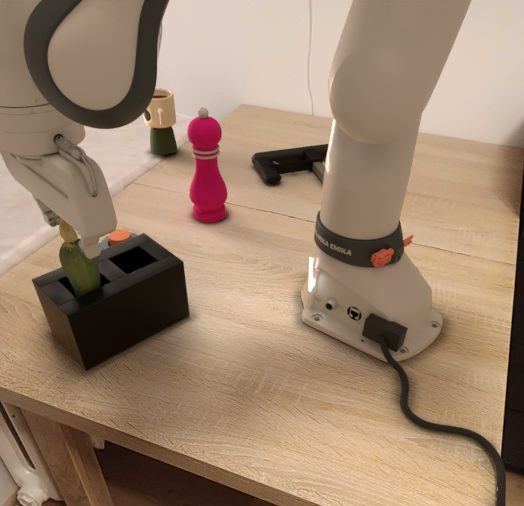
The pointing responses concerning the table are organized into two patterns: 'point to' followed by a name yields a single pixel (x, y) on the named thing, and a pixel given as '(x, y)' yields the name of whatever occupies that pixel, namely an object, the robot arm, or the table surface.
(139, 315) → the toaster
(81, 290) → the vegetable
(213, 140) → the pepper mill
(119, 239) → the button
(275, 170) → the door handle
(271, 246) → the table surface
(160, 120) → the character mug
